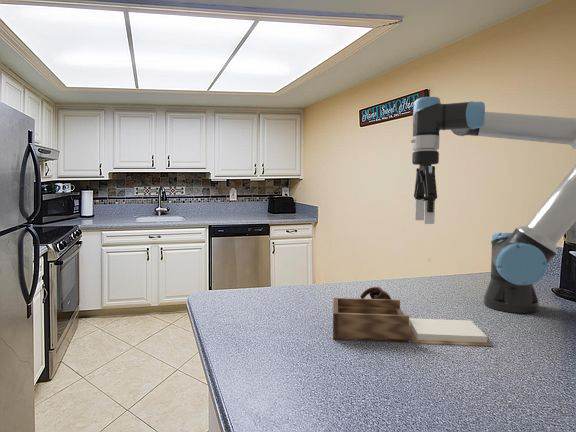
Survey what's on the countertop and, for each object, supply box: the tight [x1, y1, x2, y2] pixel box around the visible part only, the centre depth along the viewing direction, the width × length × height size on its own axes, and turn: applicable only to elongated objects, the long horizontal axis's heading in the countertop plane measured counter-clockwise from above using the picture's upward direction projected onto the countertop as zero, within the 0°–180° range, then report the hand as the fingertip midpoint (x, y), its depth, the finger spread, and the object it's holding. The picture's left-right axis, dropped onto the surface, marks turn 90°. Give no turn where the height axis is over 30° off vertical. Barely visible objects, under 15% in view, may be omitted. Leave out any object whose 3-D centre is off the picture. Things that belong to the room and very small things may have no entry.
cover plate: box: [409, 317, 488, 343], centre depth 105 cm, size 16×12×2 cm
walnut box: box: [332, 297, 410, 344], centre depth 107 cm, size 18×15×6 cm
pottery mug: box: [360, 286, 392, 300], centre depth 125 cm, size 12×10×8 cm
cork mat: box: [409, 325, 493, 347], centre depth 105 cm, size 18×15×1 cm
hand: (424, 222), depth 124 cm, fingers open, 13 cm apart
